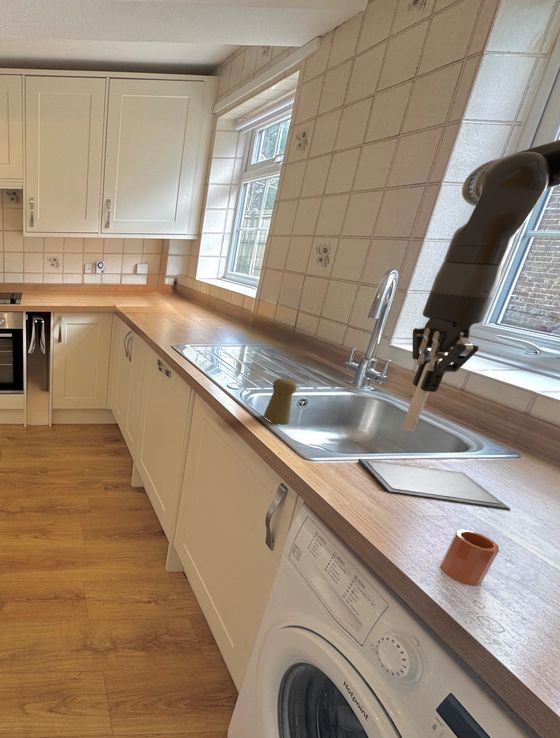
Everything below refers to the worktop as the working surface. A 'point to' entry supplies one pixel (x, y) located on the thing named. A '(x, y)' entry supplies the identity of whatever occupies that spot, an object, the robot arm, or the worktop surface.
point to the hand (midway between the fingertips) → (423, 388)
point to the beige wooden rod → (416, 405)
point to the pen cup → (469, 557)
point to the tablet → (430, 483)
